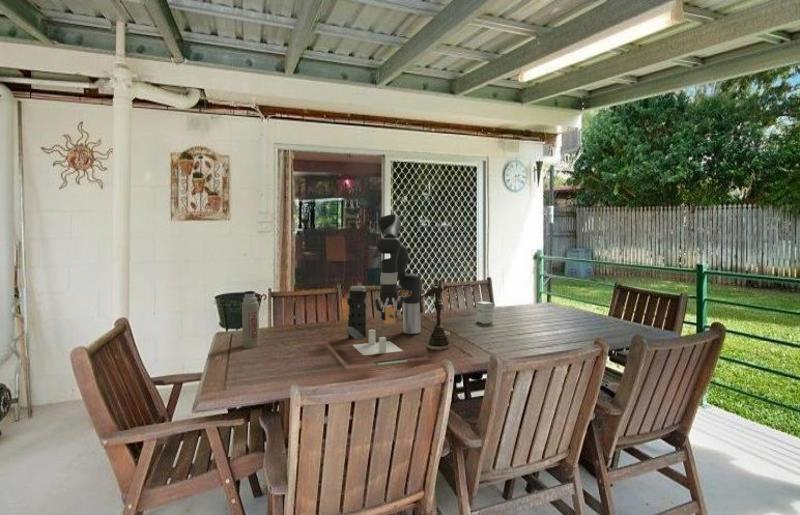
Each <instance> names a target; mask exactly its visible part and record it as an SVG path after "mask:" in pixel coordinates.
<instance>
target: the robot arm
mask: <svg viewBox="0 0 800 515" xmlns="http://www.w3.org/2000/svg"><path fill="white" fill-rule="evenodd" d="M377 224H378V225H377V226H378V228H379V230H380V233H381V237H379V239H378V240H377V243H376V251H378V253H380V254H383V255H389V256H390V257H389V258H383V259H381V262H380V295H379V297H374V298H373V300H374V305H375V309H376V311H377V312H380V318H381V320H382V322H383V321H384V320H385V308H386V307H387V306H392V307H395V320H396V319H397V317H398V311H401V309H402V308H403V309H402V312H403V314H402V323H403V325H402V332H403V333H404V334H407V335H408V334H409V335H416V334H420V333H421V331H422V330H421V329H422V328H421V321H422V318H421V315H420V299H421V283H422V281H421V277H420V275H419V274H413V273H411V274H410V273H409V274H408V273H407V272H406V268H407V265H408V264H409V261H410V255H409V252H408V250H407V247H406V246H405V245H404V244H403V243H402V242H401V241H400V238H399V239H398V235H399V233H400V231H401V228H402V223H401V219H400V216H399V215H398V214H397V213H390V214H387V215H384V216H380V217H379V218H378V219H377ZM398 280H399V285H400V287H401V289H402V290H403V291H410V292H411V294H409V295H407V296H401V295H400V296H399V295H398ZM380 302H381V304H380ZM396 302H397V303H396Z"/></svg>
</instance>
